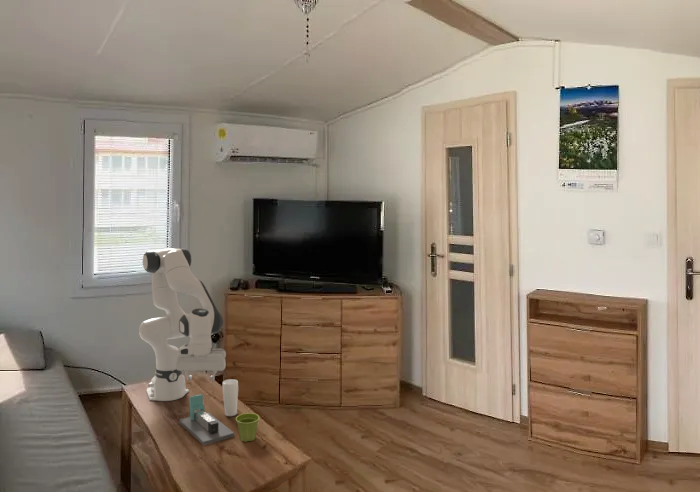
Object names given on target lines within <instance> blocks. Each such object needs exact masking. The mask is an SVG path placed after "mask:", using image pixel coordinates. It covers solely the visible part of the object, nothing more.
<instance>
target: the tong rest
mask: <svg viewBox="0 0 700 492" xmlns="http://www.w3.org/2000/svg"><path fill="white" fill-rule="evenodd" d="M197 411H200V409H199V410H195V411H194V420H191V419H190V416H188V417H185V418H184V417H183V418H179V419H178V420H179V421H178V423H179V425H181V426H182V427H183V428H184V429H185V430H186V431H187V432H188V433H189V434H191V436H193V437H194V438H195V439H196V440H197V441H198V442H199V443H200V444H201V445H202V446H207V445H209V444H213V443H216V442H217V443H218V442H220V441H223V440H227V439H230V438H235V432H234V431H233V430H231V429H230V428H229V427H227V426H226V425H225V424H224V423H223V422H221V421H220V420H219V419H217V418H216V417H215V416H214V415H212V414H211V413H210V412H208V411H207V412H206V413H207V414H208V415H209V416H211V417H212V418H213V419H214V420H216V421H217V422H218V430H219V432H218V433H214V434H211V433H209V432H208V431H207V430H206V429H205V428H204V427H202V426H201V425H200V424H199V423H198V422H197V421H196V412H197Z"/></svg>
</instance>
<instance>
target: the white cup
mask: <svg viewBox="0 0 700 492" xmlns="http://www.w3.org/2000/svg"><path fill="white" fill-rule="evenodd" d="M222 397H223V406H224V415H225V416H226V417H233V416H234V417H235V416H236V415H238V401H239V400H238V398H239V381H238V380H237V379H234V378H233V379H232V378H229V379H225V380H223V381H222Z"/></svg>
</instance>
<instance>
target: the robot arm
mask: <svg viewBox="0 0 700 492" xmlns="http://www.w3.org/2000/svg"><path fill="white" fill-rule="evenodd" d="M191 265H192V254H191V252H190V251H189V250H188V248H187V249H186V248H182V247H181V248H163V249H156V250H154V249H152V250H148V251H146V252H145V253H144V254H143V256H142V267H143V268H144V269H143V270H144V271H145V272H146V273H150V274H151V293H152V304H153V306H154V307H155V308H157V309H159V310H162V311H165V313H166V316H161V317H153V318H149V319H146V320H143V321H142V322H141V323H140V325H139V327H138V334H139V336H140V338H141V339H142V341H144V342H146V343H147V344H149V345H150V347H151V348H152V349H153V351H154V354H155V364H156V366H155V367H156V368H155V370H154V376H153V377H152V378H151V379H150V380H151V381H150V382H148V387H147V388H146V391H145V392H146V394H147V396H148V400H149V401H159V402H171V401H175V400H179V399H181V398H183V397H184V396H186V394H188V393H189V389H188V388H186V380H187V381H192V380H193V375H191V374H190V373H189V372H190V371H191V372H192V371H201V372H202V371H212V374H211V375H210V376H209V378H210V379H209V381H212V382H213V381H215V377H216V374H217V373H218V371H219V372H221V371H222V372H223V371H224V370H225V369H226V363H227V362H226V357H227V351H226V350H225V349H223V348H220V347H219V348H215V347H212V346H213V345H212V344H213V343H212V336H211V335H212V334H218V333H219V332H220V331H221V330H222V328H223V326H224V318H223V315H222V313H221V312H220V310H219V309H218V307H217V306H216V304H215V303H214V300H213V299H212V297H211V295H210V293H209V291H208V289H207V287H206V286H205V284H204V283H203V281H202V280H200V279H198V278H197V277H196V276H195V275H194V274H193V272H192V271H191V270H192V269H191V268H190V267H191ZM178 293H179V294H183V295H188V296H193V297H195V298H196V299H197V300H198V301H199V303H200V305H201V307H202V308H200V307H199V308H194V309H192V310H191V311H190V313H186V312H185V311H184V310H183V309H182V307H181V305H180V303H179V299H178ZM185 337H189V343H184V344H183V345H181V346H180V347H179V348H178V347H177V346H174V345H171V344H168V341H169V340H172V339H180V338H185ZM183 371H184V375H183V373H182V372H183ZM185 376H186V377H185Z"/></svg>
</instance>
